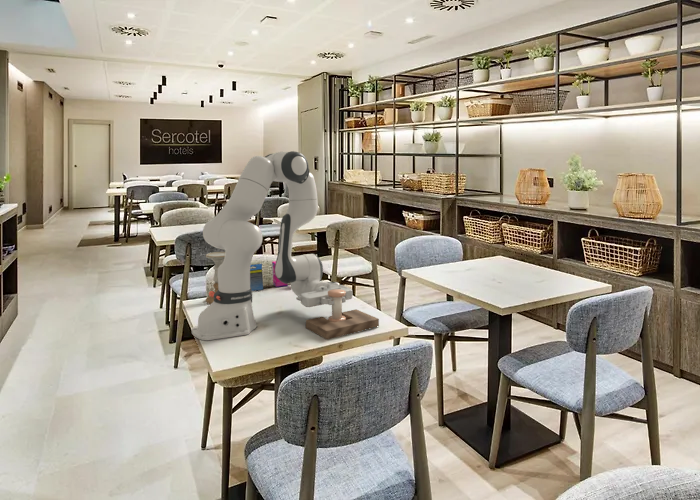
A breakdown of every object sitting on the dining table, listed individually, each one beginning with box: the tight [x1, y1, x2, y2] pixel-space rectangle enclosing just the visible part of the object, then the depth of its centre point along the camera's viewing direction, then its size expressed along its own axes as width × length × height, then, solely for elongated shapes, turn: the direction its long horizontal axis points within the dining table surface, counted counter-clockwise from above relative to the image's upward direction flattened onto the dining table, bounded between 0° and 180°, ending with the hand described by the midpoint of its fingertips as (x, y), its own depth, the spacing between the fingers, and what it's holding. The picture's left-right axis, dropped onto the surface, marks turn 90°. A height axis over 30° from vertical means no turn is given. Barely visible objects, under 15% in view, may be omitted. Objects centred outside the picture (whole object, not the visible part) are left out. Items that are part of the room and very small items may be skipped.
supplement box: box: [271, 260, 289, 288], centre depth 243 cm, size 6×6×12 cm
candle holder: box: [205, 251, 225, 305], centre depth 218 cm, size 12×12×20 cm
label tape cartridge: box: [250, 263, 264, 292], centre depth 235 cm, size 9×4×12 cm, turn 118°
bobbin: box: [327, 289, 346, 322], centre depth 187 cm, size 6×6×11 cm
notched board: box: [305, 309, 380, 340], centre depth 185 cm, size 22×14×3 cm, turn 124°
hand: (338, 301), depth 186 cm, fingers closed on bobbin, 4 cm apart
